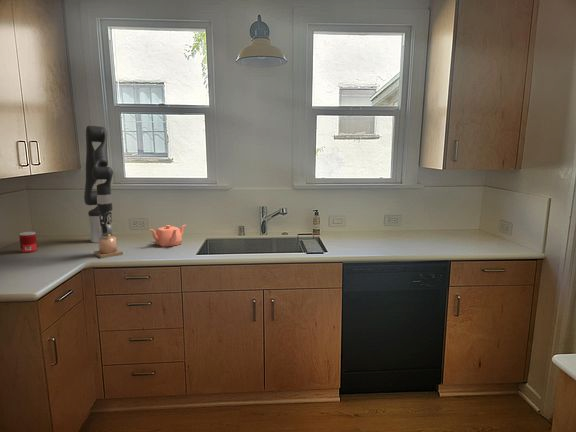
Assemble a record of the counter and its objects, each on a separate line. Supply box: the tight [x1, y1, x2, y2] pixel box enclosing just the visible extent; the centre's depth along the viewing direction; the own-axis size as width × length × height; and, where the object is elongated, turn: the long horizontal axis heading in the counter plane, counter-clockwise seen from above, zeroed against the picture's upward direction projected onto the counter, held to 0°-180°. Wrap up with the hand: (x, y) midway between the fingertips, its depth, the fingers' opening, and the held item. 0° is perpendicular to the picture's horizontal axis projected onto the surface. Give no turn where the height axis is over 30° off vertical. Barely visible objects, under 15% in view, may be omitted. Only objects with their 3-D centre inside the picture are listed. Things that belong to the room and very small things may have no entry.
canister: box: [93, 235, 124, 259], centre depth 216 cm, size 12×12×12 cm
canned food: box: [18, 231, 38, 254], centre depth 219 cm, size 8×8×11 cm
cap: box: [101, 223, 113, 237], centre depth 214 cm, size 7×6×6 cm
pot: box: [148, 224, 187, 248], centre depth 240 cm, size 18×17×12 cm
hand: (106, 231), depth 214 cm, fingers closed on cap, 5 cm apart
